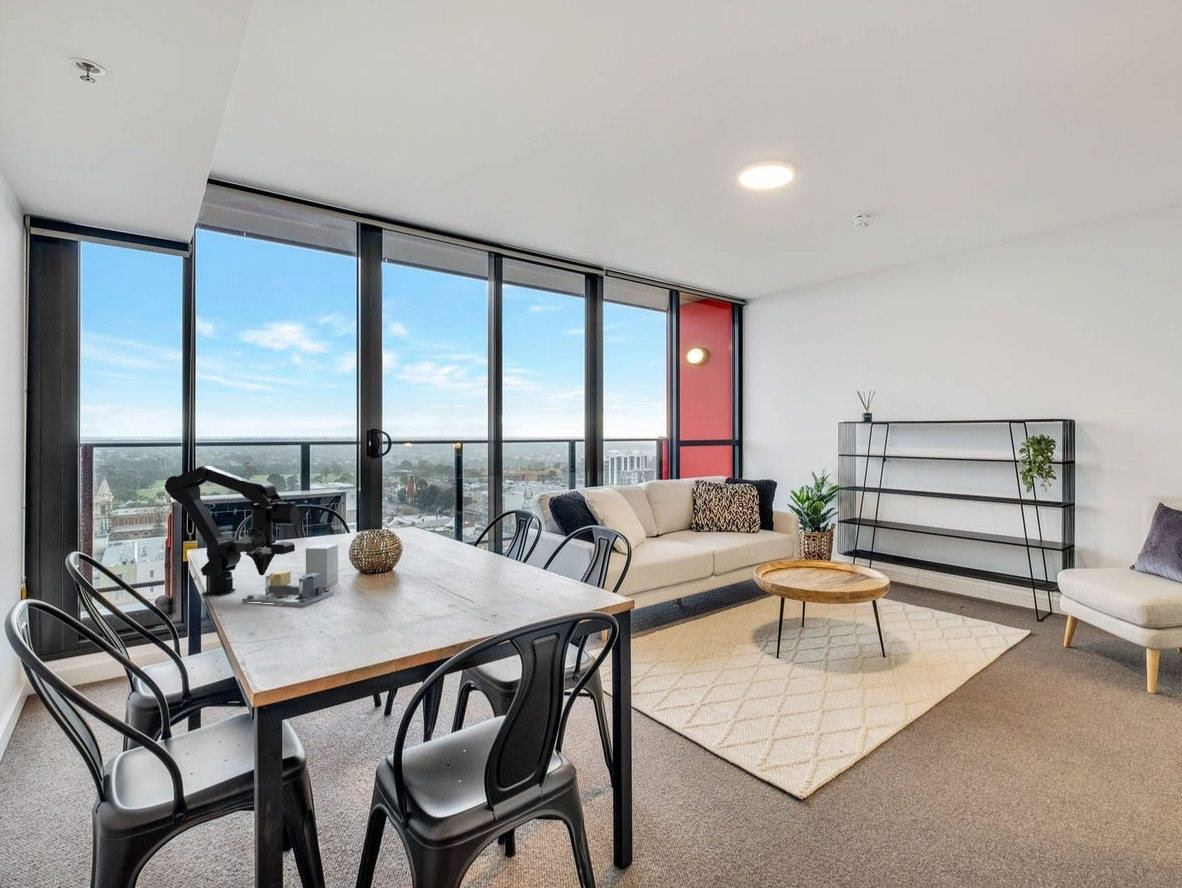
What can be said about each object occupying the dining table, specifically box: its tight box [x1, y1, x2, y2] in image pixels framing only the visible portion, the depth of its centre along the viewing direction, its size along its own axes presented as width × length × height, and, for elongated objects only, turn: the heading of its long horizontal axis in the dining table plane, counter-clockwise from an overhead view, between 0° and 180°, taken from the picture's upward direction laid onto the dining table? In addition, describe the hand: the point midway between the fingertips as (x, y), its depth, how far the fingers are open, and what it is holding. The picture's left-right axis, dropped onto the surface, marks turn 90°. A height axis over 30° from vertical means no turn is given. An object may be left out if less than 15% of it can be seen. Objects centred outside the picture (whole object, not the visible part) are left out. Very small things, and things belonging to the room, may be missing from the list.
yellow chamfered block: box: [264, 570, 292, 595], centre depth 181 cm, size 4×8×5 cm, turn 169°
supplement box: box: [305, 543, 339, 588], centre depth 196 cm, size 7×7×13 cm
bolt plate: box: [241, 573, 335, 608], centre depth 179 cm, size 20×14×7 cm
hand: (261, 575), depth 185 cm, fingers closed
